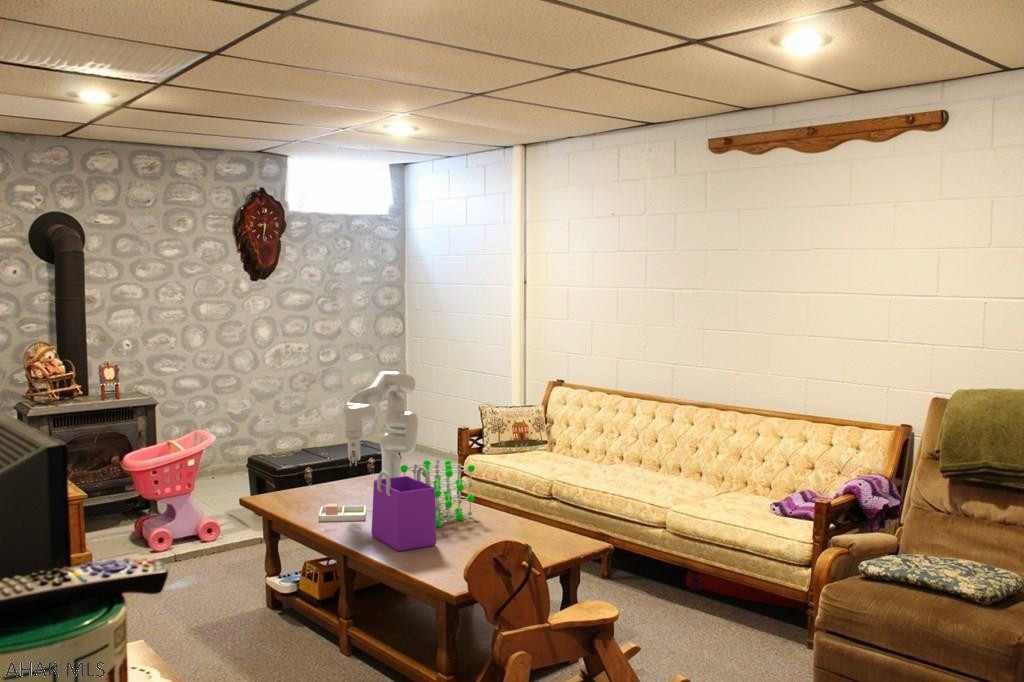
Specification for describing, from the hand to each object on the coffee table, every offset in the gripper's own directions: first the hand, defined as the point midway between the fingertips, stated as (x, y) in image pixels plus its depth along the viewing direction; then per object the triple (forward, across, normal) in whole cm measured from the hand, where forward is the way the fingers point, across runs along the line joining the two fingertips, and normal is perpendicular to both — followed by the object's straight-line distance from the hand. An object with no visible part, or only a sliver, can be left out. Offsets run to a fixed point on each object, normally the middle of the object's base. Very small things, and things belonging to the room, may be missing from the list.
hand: (353, 471), depth 386 cm
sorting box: (+20, 0, +5) cm, 21 cm away
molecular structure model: (+21, -4, -37) cm, 43 cm away
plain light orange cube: (+20, 0, +9) cm, 22 cm away
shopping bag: (+21, -38, -22) cm, 48 cm away
